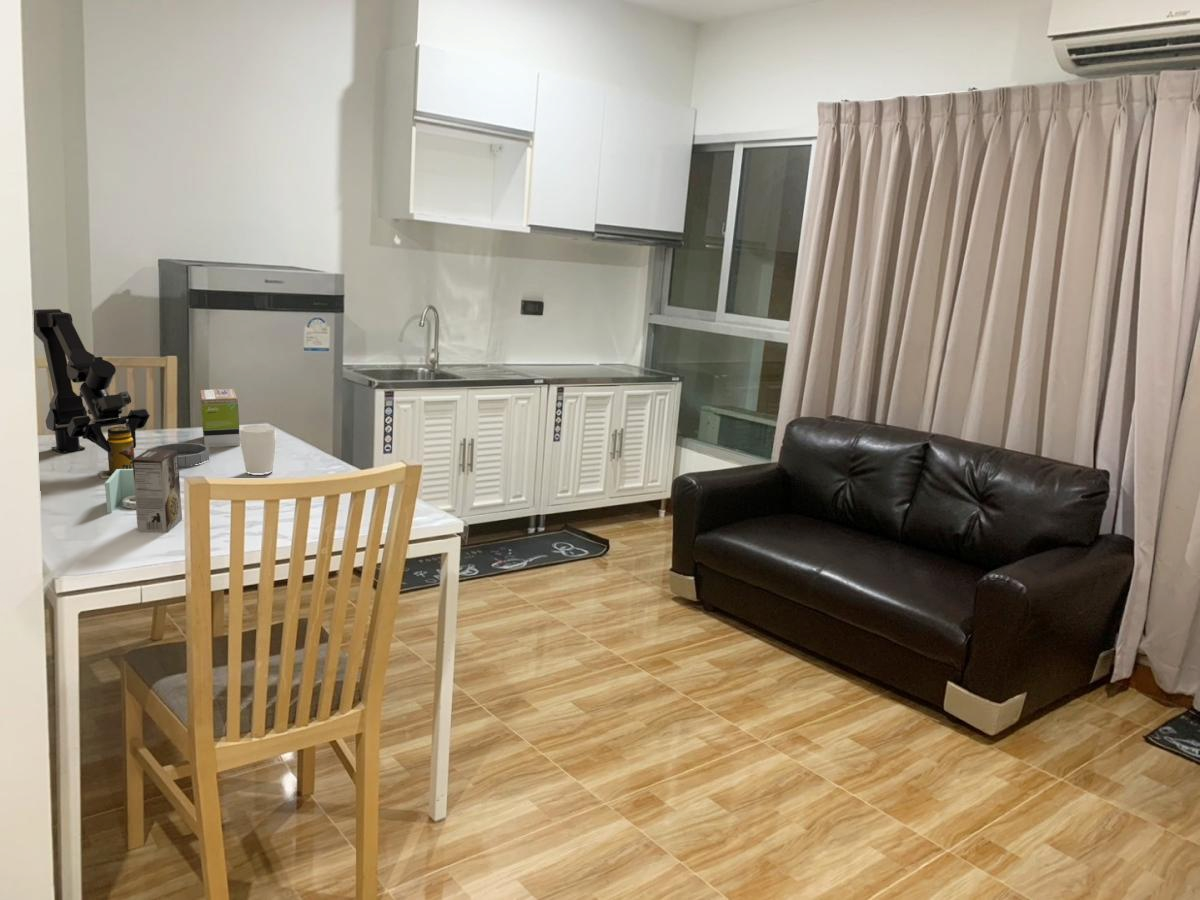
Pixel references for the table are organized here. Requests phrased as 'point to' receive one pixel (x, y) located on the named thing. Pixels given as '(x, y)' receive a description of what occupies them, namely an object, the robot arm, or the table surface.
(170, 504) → the coffee box
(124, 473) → the right angle wall
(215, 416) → the tea box
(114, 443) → the condiment
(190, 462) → the round grey tray
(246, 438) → the cup
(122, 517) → the table surface
